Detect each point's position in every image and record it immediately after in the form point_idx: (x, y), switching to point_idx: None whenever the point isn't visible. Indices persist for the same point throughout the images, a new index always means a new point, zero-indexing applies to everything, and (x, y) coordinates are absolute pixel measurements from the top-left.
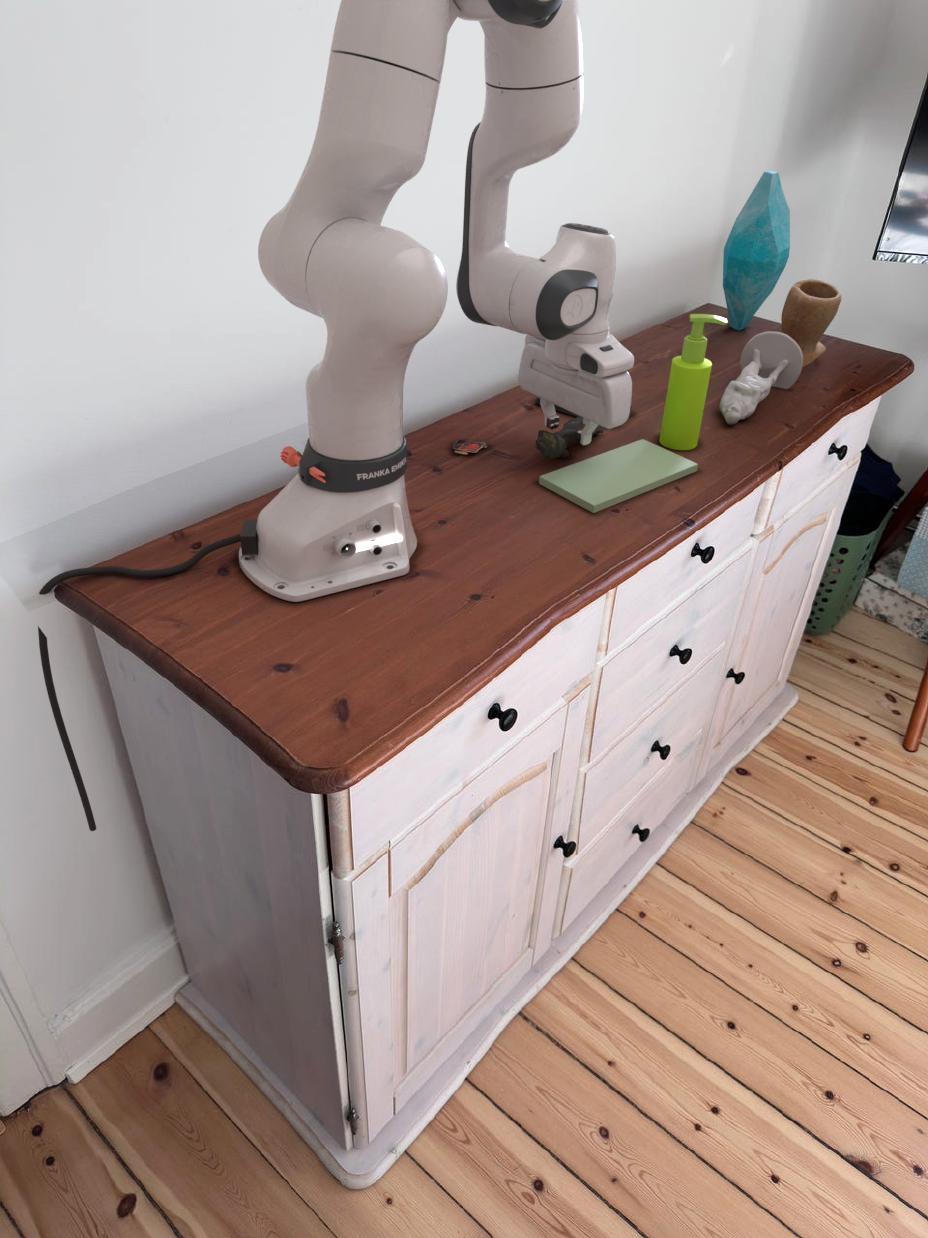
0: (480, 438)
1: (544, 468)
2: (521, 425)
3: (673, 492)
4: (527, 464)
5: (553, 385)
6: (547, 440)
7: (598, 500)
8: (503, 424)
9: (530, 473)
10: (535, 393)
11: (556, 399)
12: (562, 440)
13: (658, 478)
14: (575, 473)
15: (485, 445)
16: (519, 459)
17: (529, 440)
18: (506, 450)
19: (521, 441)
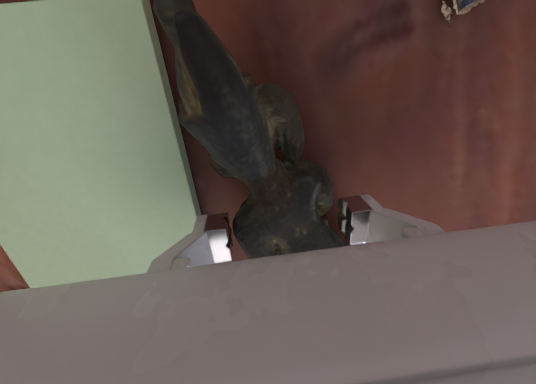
0: (494, 44)
1: None
2: (456, 192)
3: (5, 277)
4: (282, 61)
5: (424, 315)
6: (179, 64)
7: None
8: (494, 158)
9: (226, 27)
10: (488, 230)
11: (350, 261)
12: (222, 163)
13: (30, 280)
14: (118, 122)
15: (450, 13)
16: (321, 61)
17: (388, 161)
18: (387, 65)
19: (398, 139)
